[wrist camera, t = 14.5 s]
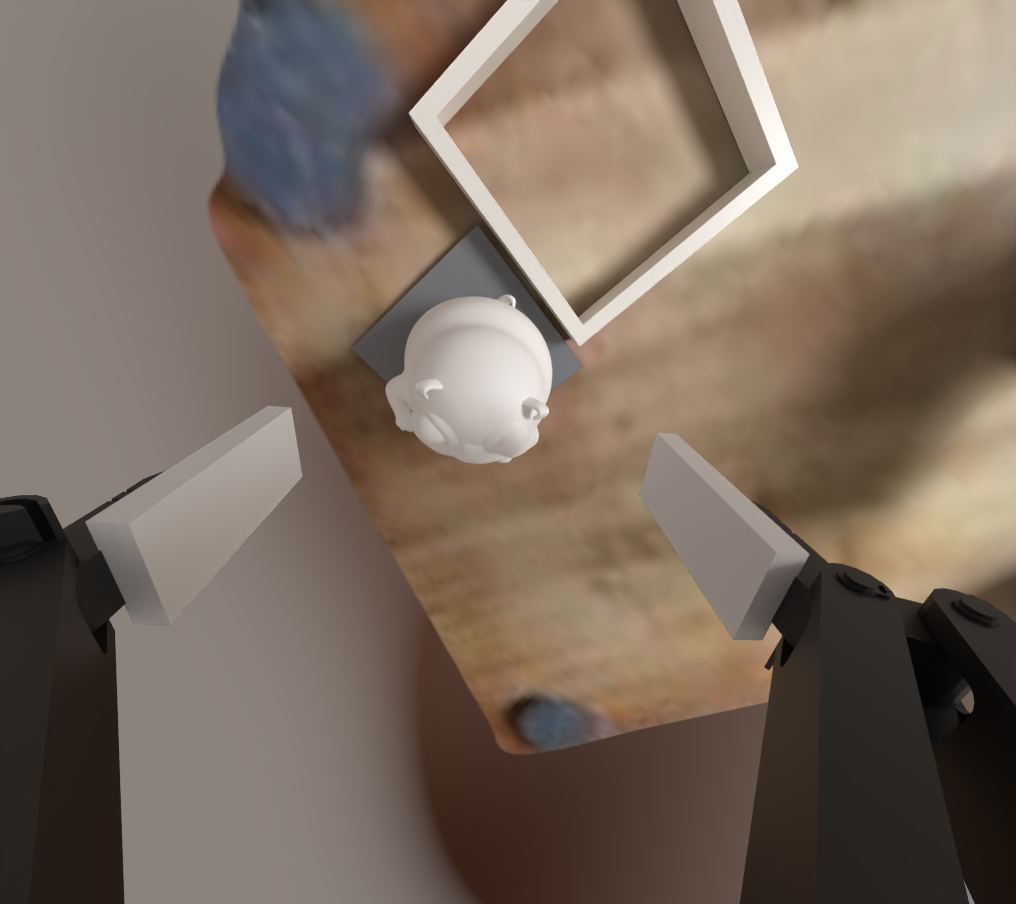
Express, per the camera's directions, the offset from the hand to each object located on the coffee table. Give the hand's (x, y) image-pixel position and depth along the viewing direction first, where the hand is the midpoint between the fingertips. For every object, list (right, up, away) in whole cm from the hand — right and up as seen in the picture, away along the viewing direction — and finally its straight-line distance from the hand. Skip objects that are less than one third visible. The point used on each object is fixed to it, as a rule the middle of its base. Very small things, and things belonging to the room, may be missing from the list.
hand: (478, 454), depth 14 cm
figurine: (-1, +7, +14) cm, 16 cm away
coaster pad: (-2, +7, +15) cm, 16 cm away
